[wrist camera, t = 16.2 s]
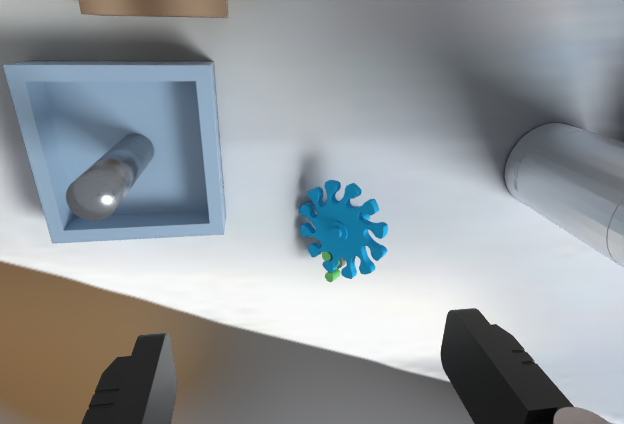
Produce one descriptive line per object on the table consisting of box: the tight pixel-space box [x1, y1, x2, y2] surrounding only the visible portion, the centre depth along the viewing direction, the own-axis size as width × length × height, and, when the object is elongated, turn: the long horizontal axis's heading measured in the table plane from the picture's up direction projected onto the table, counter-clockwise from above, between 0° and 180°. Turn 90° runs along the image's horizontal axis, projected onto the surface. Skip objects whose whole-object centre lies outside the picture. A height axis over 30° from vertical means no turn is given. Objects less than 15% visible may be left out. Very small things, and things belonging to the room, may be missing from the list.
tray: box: [3, 61, 226, 243], centre depth 36 cm, size 15×15×4 cm
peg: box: [66, 133, 154, 221], centre depth 32 cm, size 3×3×12 cm
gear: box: [299, 180, 388, 282], centre depth 42 cm, size 11×6×10 cm
